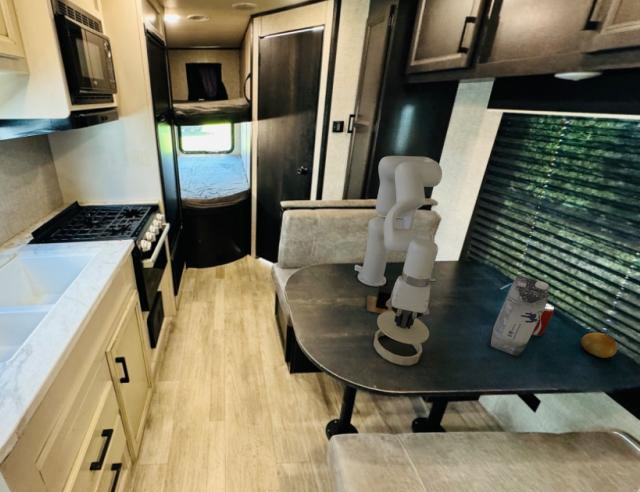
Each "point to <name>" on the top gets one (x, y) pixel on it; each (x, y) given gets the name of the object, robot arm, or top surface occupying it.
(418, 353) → the cream hollow ring
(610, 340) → the fruit
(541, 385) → the top surface
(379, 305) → the block
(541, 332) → the soda can
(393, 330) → the lid
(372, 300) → the trivet
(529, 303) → the juice carton
